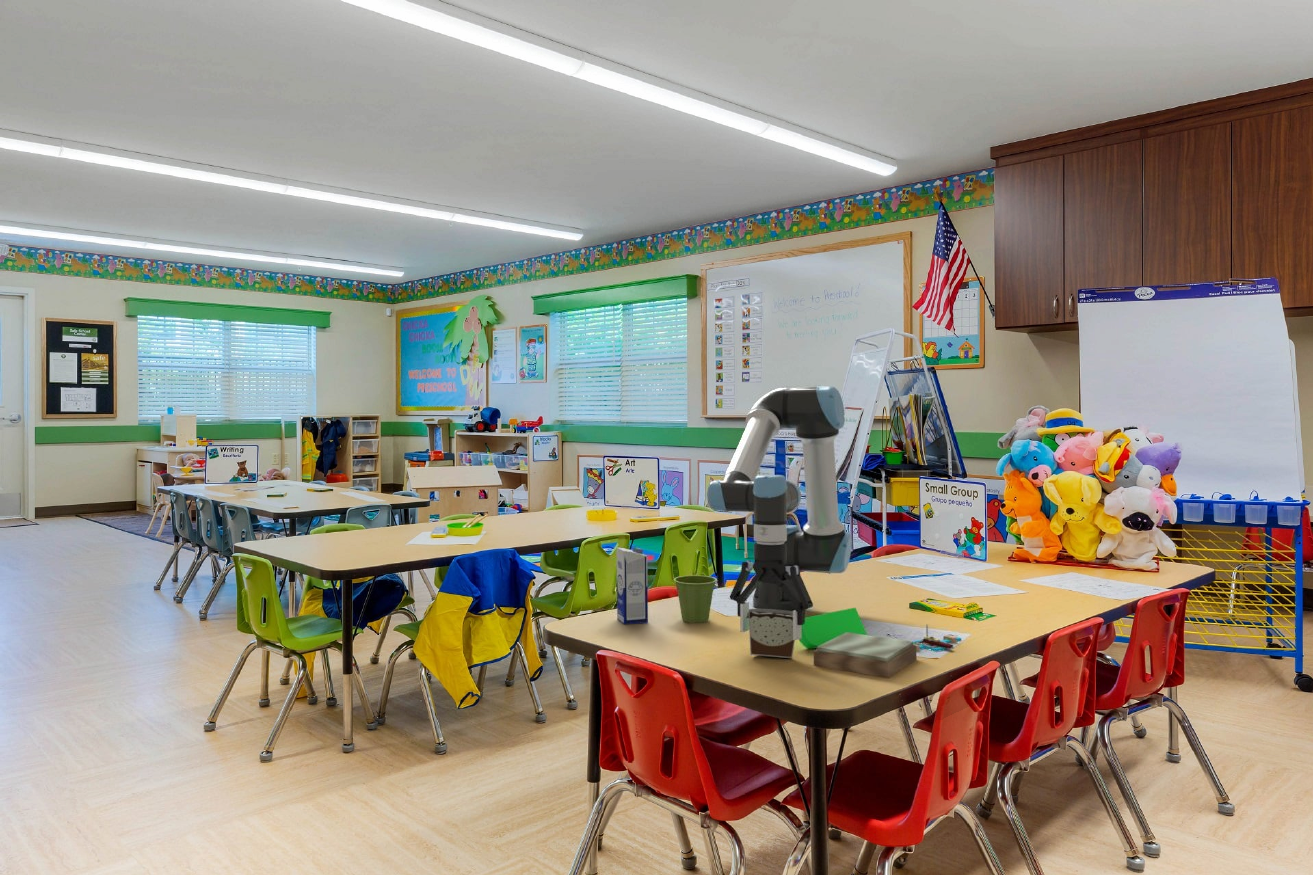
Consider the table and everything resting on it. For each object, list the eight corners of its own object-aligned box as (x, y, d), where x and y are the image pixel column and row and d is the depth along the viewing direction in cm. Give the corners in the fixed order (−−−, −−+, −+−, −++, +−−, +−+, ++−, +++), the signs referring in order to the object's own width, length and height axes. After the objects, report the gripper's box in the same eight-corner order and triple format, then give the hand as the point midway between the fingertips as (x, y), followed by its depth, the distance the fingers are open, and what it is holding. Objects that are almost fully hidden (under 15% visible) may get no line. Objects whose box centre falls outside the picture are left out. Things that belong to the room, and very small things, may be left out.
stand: (813, 665, 189) (813, 647, 189) (845, 648, 203) (845, 631, 203) (888, 677, 179) (888, 658, 179) (916, 659, 193) (916, 641, 193)
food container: (797, 654, 200) (799, 611, 201) (798, 658, 194) (800, 613, 195) (744, 650, 201) (746, 607, 202) (743, 654, 195) (746, 609, 196)
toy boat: (978, 646, 206) (946, 638, 213) (978, 624, 205) (946, 616, 213) (921, 659, 195) (889, 650, 203) (921, 636, 195) (889, 627, 203)
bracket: (841, 648, 219) (830, 621, 222) (867, 635, 212) (855, 607, 215) (784, 660, 207) (773, 632, 210) (809, 647, 201) (798, 618, 203)
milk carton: (617, 618, 236) (616, 546, 236) (640, 616, 238) (639, 545, 238) (624, 624, 229) (623, 549, 229) (648, 622, 231) (647, 548, 231)
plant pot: (669, 624, 229) (668, 582, 229) (679, 614, 241) (679, 574, 241) (712, 626, 226) (712, 583, 226) (721, 616, 238) (720, 576, 237)
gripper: (715, 540, 201) (715, 630, 201) (812, 548, 186) (813, 645, 187) (731, 537, 207) (732, 624, 207) (827, 544, 193) (827, 639, 193)
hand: (770, 635), depth 197 cm, fingers open, 13 cm apart
